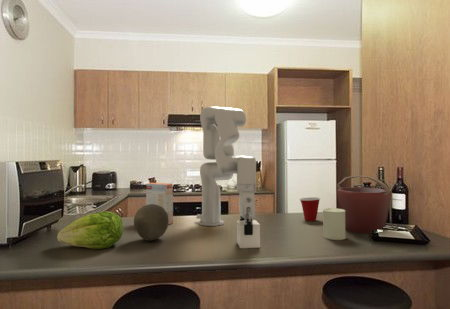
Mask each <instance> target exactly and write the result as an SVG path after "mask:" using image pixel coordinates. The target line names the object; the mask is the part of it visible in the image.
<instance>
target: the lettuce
mask: <svg viewBox="0 0 450 309" xmlns="http://www.w3.org/2000/svg"><path fill="white" fill-rule="evenodd" d="M123 234H124V223H123V219H122V217H121V216H120V215H118V214H116V212H115V213H114V212H111V211H107V210H105V211H98V212H94V213H90V214H87V215H84V216H82V217H80V218H78V219H76V220H74V221H72V222H71V223H69V224H68V225H67V226H65V227H63V228H62V229H61V230H59V232H58V233H57V237H56V238H57V240H58V242H60V243H62V244H67V245H71V246H74V247H78V248H87V249H93V250H94V249H99V250H100V249H103V250H104V249H109V248H111V247H112V246H113V245H115V244H116V243H118V242H120V239H121V238H122V237H123Z"/></svg>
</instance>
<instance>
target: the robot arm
mask: <svg viewBox="0 0 450 309" xmlns="http://www.w3.org/2000/svg"><path fill="white" fill-rule="evenodd" d="M199 116H200V118H199V120H200V126H201V128H202V133H203V135H202V136H203V137H202V141H203V142H202V147H203V148H202V153H203V158H205V159H206V160H215V161H214V162H213V161H209V162H204V163H202V164H201V165H200V168H199V175H200V179H201V180H200V181H201V213H199V214H198V213H197V214H196V219H199V225H200V226H204V227H217V226H222V225H224V224H225V223H224V220H223V219H221V217H222V214H221V213H222V212H221V210H222V209H221V203H222V202H221V187H220V185H219V184H218V183H217V182H218V181H229V180H232V178H233V177H234V176H233V175H234V174H235V175H236V193H239V197H238V198H239V199H238V202H239V205H238V208H239V209H238V212H239V215H240V217H239V221H244V220H245V224H244V235H253V221H252V220H253V219H255V218H256V201H255V200H256V199H255V193H256V192H257V160H256V157H254V156H248V155H235V149H234V146H233V144H234V143H236V142H237V141H238V140H239V138H240V132H239V129H238V128H242V127H245V125H246V122H247V115H246V113H245V112H244V110H242V109H241V108H236V107H228V106H226V107H225V106H206V107H203V108H202V109H201V111H200V114H199Z"/></svg>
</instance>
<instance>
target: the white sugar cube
mask: <svg viewBox="0 0 450 309" xmlns="http://www.w3.org/2000/svg"><path fill="white" fill-rule="evenodd" d="M252 221H253V235H244V224H245V220H244V221H240V220H236V243H237V246H238V248H239V249H255V248H259V249H260V248H261V224H260V223H259V222H258V221H257V220H256V219H252Z"/></svg>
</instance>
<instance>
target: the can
mask: <svg viewBox="0 0 450 309" xmlns="http://www.w3.org/2000/svg"><path fill="white" fill-rule="evenodd" d="M322 218H323V219H322V220H323V224H322V225H323V228H322V230H323V232H322V237H323V238H325V239H327V240H335V241H343V240H345V239H346V238H347V236H346V230H345V210H343V209H340V208H335V207H330V208H329V207H327V208H323V209H322Z"/></svg>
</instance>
